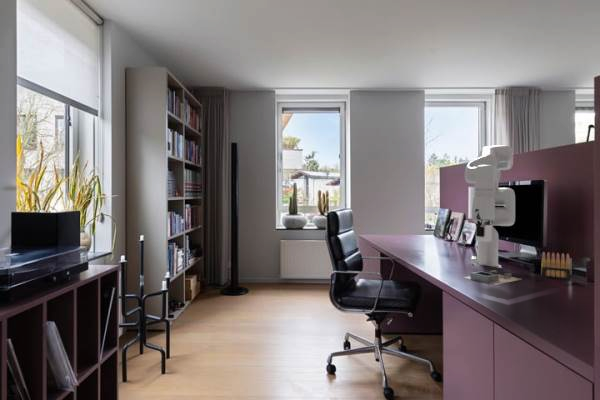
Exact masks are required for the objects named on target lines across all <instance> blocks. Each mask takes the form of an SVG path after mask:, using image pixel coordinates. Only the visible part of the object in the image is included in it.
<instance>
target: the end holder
mask: <svg viewBox="0 0 600 400" xmlns="http://www.w3.org/2000/svg"><path fill="white" fill-rule="evenodd" d="M499 275H500V274H499ZM499 275H497V274H492V273H490V272H488V271H487V272H486V271H483V270H481V271H473V272H470V275H469V276H470V279H469V280H473V279H474V280H473V281H477V280H478V282H481V281H482V283H486V282H487V283H486V284H490V282H495V281H499Z"/></svg>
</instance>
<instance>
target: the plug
mask: <svg viewBox="0 0 600 400" xmlns="http://www.w3.org/2000/svg"><path fill="white" fill-rule="evenodd" d="M483 227H484V237H480V236H476V235H475V241H476V242H478V241H482V242H492V225H487V223H484V225H483Z"/></svg>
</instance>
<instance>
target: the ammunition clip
mask: <svg viewBox="0 0 600 400" xmlns="http://www.w3.org/2000/svg"><path fill="white" fill-rule="evenodd" d="M569 254H570V253H566V257H565V254H564V253H563V252H562V254H561V257H560V254H559V252H557V253H556V255H555V252H552V253H551V254H550V252H549V251H548V252H547V254H546V253H545V251H543V252H542V255H541V269H540V276H542V277H547V278H552V279H558V280H563V281H571V279H572V278H571V262H570V261H571V260H570V255H569ZM560 258H561V259H560Z"/></svg>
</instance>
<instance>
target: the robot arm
mask: <svg viewBox="0 0 600 400" xmlns="http://www.w3.org/2000/svg"><path fill="white" fill-rule="evenodd" d="M513 151H514V150H513V148H512V147H511V146H510V145H507V144H506V145H505V144H503V145H488V146H484V147H483V148H481V150H480V151H479V154H478V156H477V157H476V158H475V159H473V160H471V161H469V162H468V163H467V165H466V167H465V170H464V180H465V182H466V183H468V184H474V197H473V200H472V205H471V206H472V207H471V219H472V221H473V223H475V237H476V236H480V237H484V227H483V225H484V223H487V225H492V242H482V241H477V256H471V258H470V259H471V261H473V262H474V263H473V266H474V267H476V266H477V267H478V266H487V267H488V266H489V267H493V268H498V269H502V265H501V264H499V233H498V231H497V230H496V228H495V227H494V226H500V227H511V226H513V225H514V224H515V222H516V194H515V190H514V189H512V188H510V187H499V184H500V183H499V181H500V180H501V177H502V174H501V171H508V170H511V169H512V168H513V165H514V152H513ZM496 206H497V207H496ZM500 206H501V207H500ZM502 206H503V207H502Z"/></svg>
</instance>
